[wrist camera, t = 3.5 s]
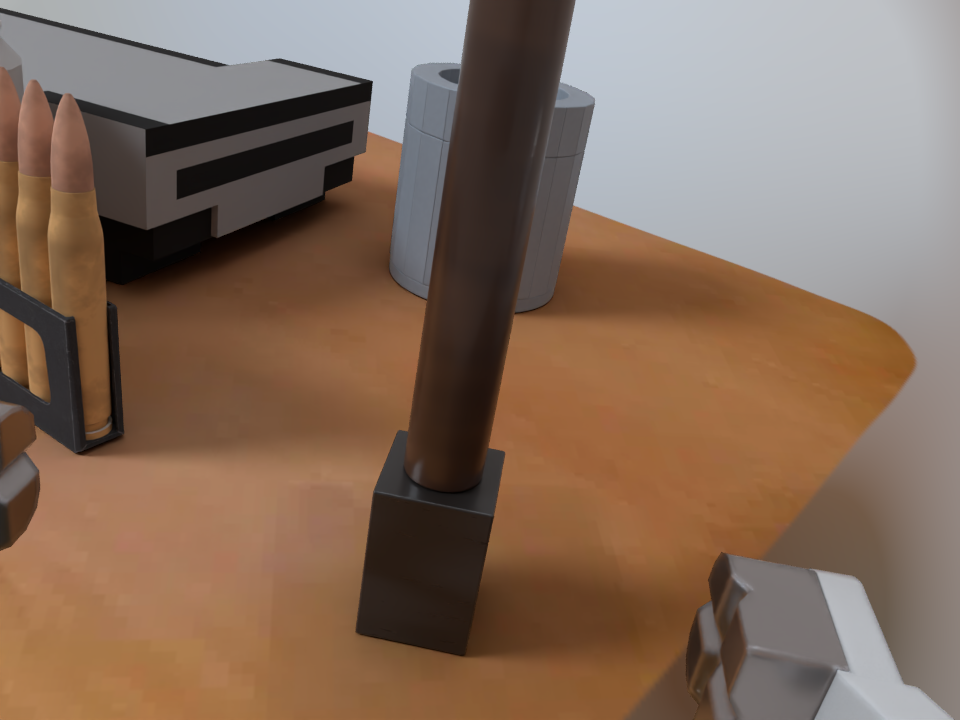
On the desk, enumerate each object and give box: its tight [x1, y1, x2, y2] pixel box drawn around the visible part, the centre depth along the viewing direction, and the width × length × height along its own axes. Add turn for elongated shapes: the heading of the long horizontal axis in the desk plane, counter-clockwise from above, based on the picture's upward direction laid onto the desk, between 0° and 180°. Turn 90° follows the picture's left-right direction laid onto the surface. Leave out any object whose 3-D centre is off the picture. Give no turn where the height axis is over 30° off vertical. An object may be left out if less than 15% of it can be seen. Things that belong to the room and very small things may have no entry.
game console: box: [0, 8, 373, 285], centre depth 52 cm, size 21×32×8 cm, turn 69°
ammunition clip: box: [0, 66, 124, 453], centre depth 30 cm, size 11×2×12 cm, turn 56°
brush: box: [356, 0, 575, 655], centre depth 22 cm, size 3×3×18 cm
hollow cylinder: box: [389, 63, 595, 313], centre depth 48 cm, size 10×10×11 cm
